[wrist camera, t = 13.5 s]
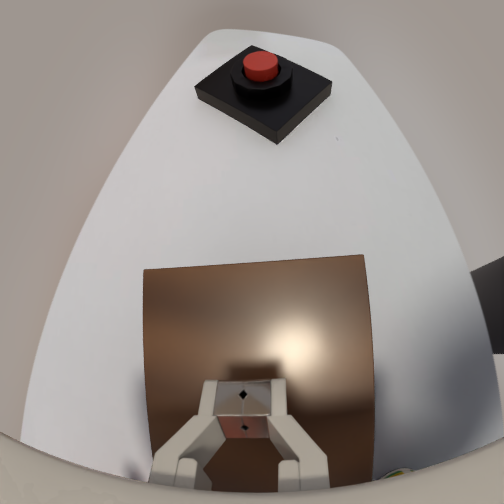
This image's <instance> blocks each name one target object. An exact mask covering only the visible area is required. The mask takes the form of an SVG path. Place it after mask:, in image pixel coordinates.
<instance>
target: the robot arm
mask: <svg viewBox="0 0 504 504" xmlns="http://www.w3.org/2000/svg"><path fill="white" fill-rule="evenodd" d="M225 438H270V440H271V441H272V443H273V444H274V446H275V447H276V449H277V450H278V451H279V453H280V454H281V456H282V457H283V459H284V460H282V461H281V462H280V463H279V464H278V492H273V493H242V492H220V491H211V488H212V481H211V480H210V479H209V477H208V476H207V475H206V473H205V472H204V471H203V468H204V467H205V466H206V464H207V463H208V462H209V461H210V459H211V458H212V457H213V456H214V454H215V453H216V452H217V451H218V449H219V448H220V447H221V445H222V444H223V443H224V442H225V440H226V439H225ZM0 504H504V437H502V438H500V439H498V440H496V441H494V442H492V443H490V444H487V445H485V446H483V447H481V448H478V449H476V450H474V451H471V452H469V453H466V454H464V455H461V456H459V457H456V458H453V459H450V460H448V461H445V462H442V463H439V464H436V465H433V466H430V467H427V468H423V469H420V470H417V471H413V472H409V473H406V474H402V475H398V476H394V477H390V478H385V479H381V480H376V481H371V482H366V483H361V484H355V485H349V486H343V487H335V488H330V483H329V472H328V462H327V456H326V455H325V453H324V452H323V451H322V450H321V449H320V448H319V447H318V446H317V444H316V443H315V442H314V441H313V440H312V439H311V438H310V436H309V435H308V434H307V433H306V432H305V431H304V429H303V428H302V427H301V426H300V425H299V424H298V422H297V421H296V420H295V419H294V418H293V416H292V415H287V399H286V379H285V378H277V379H272V380H271V379H252V380H205V382H204V384H203V389H202V395H201V400H200V406H199V411H198V415H194V416H193V417H192V418H191V419H190V420H189V421H188V422H187V423H186V424H185V425H184V426H183V427H182V428H181V429H180V430H179V431H178V432H177V433H176V434H175V435H174V436H172V437H171V438H170V439H169V440H168V441H167V442H166V443H165V444H164V445H163V446H162V447H161V448H160V449H159V450H158V451H157V452H156V453H155V455H154V459H153V464H152V468H151V472H150V476H149V481H148V482H143V481H138V480H133V479H129V478H125V477H120V476H116V475H112V474H108V473H105V472H101V471H98V470H94V469H91V468H88V467H84V466H81V465H78V464H75V463H72V462H69V461H66V460H64V459H61V458H58V457H55V456H53V455H50V454H48V453H45V452H43V451H40V450H38V449H35V448H33V447H31V446H29V445H26V444H24V443H22V442H20V441H17V440H15V439H13V438H11V437H9V436H7V435H5V434H3V433H1V432H0Z"/></svg>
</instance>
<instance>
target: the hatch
mask: <svg viewBox="0 0 504 504" xmlns="http://www.w3.org/2000/svg"><path fill="white" fill-rule="evenodd" d="M143 348H144V372H145V388H146V402H147V413H148V423H149V433H150V441H151V449H152V457H153V459H154V455H155V453H156V452H157V451H158V450H159V449H160V448H161V447H162V446H163V445H164V444H165V443H166V442H167V441H168V440H169V439H170V438H171V437H172V436H174V435H175V434H176V433H177V432H178V431H179V430H180V429H181V428H182V427H183V426H184V425H185V424H186V423H187V422H188V421H189V420H190V419H191V418H192V417H193V416H194V415H198V411H199V406H200V400H201V395H202V389H203V384H204V382H205V380H252V379H271V380H272V379H277V378H285V379H286V399H287V415H292V416H293V418H294V419H295V420H296V421H297V422H298V424H299V425H300V426H301V427H302V428H303V429H304V431H305V432H306V433H307V434H308V435H309V436H310V438H311V439H312V440H313V441H314V442H315V443H316V444H317V446H318V447H319V448H320V449H321V450H322V451H323V452H324V453H325V455H326V456H327V462H328V472H329V483H330V488H335V487H343V486H349V485H355V484H361V483H366V482H371V481H372V472H373V456H374V427H375V389H374V359H373V341H372V327H371V314H370V304H369V294H368V285H367V276H366V268H365V260H364V255H363V254H361V255H348V256H335V257H322V258H308V259H295V260H281V261H267V262H252V263H238V264H223V265H208V266H193V267H177V268H161V269H145V270H144V272H143ZM225 439H226V440H225V442H224V443H223V444H222V445H221V447H220V448H219V449H218V451H217V452H216V453H215V454H214V456H213V457H212V458H211V459H210V461H209V462H208V463H207V464H206V466H205V467H204V468H203V471H204V472H205V473H206V475H207V476H208V477H209V479H210V480H211V481H212V488H211V491H220V492H242V493H273V492H278V464H279V463H280V462H281V461H282V460H284V459H283V457H282V456H281V454H280V453H279V451H278V450H277V449H276V447H275V446H274V444H273V443H272V441H271V440H270V438H225Z"/></svg>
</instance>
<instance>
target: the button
mask: <svg viewBox="0 0 504 504" xmlns="http://www.w3.org/2000/svg"><path fill="white" fill-rule="evenodd" d="M243 65H244V71H245V75H246V77H247V78H248V79H250V80H252V81H258V82H264V81H268V80H272V79H273V78H275V77H276V76H277V74H278V59H277V57H276V56H275V55H274V54H273V53H270V52H266V51H257V52H253V53H250V54H249V55H247V56H246V57H245V58H244V60H243Z"/></svg>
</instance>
